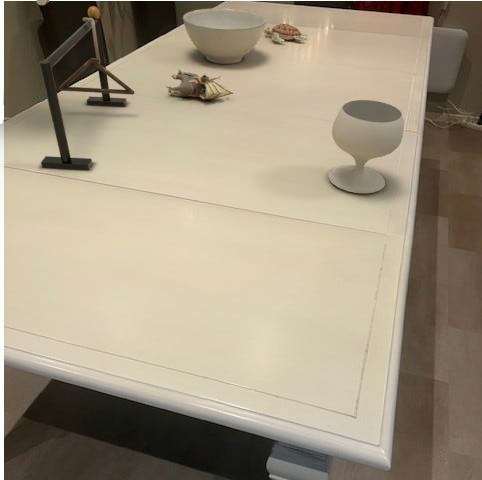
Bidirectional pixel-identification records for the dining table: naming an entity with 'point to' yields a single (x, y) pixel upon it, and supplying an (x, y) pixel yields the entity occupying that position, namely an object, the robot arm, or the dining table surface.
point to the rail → (54, 106)
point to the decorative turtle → (284, 33)
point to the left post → (105, 98)
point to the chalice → (365, 142)
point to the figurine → (197, 86)
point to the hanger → (97, 63)
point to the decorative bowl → (224, 32)
